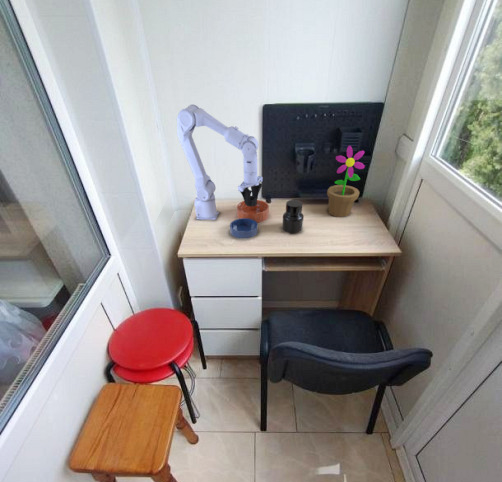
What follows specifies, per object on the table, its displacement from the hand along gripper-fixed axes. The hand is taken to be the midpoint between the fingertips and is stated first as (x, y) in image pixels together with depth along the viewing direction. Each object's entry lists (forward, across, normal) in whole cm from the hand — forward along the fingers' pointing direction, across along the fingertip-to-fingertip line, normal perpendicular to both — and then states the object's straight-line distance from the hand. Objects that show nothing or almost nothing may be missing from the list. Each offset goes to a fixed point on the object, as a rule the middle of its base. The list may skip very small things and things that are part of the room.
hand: (251, 202), depth 127 cm
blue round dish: (+8, -11, -5) cm, 15 cm away
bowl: (+8, +3, +1) cm, 9 cm away
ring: (+1, 0, 0) cm, 1 cm away
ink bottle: (+9, +4, -20) cm, 22 cm away
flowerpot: (+9, +31, -30) cm, 44 cm away
